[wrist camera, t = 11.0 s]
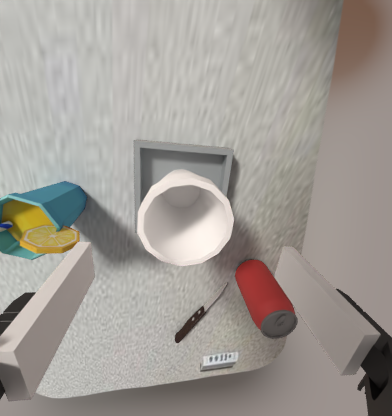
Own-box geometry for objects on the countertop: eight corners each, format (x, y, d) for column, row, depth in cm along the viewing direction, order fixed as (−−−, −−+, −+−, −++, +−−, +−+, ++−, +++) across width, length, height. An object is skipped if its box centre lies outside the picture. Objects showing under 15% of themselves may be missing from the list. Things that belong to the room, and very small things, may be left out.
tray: (137, 139, 29) (133, 140, 26) (228, 147, 31) (233, 149, 28) (138, 224, 34) (135, 232, 31) (216, 227, 35) (220, 235, 33)
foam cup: (205, 218, 34) (223, 267, 22) (149, 214, 32) (136, 264, 20) (214, 162, 30) (242, 183, 18) (153, 154, 29) (139, 172, 17)
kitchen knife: (178, 335, 45) (178, 344, 43) (174, 333, 45) (174, 342, 43) (228, 280, 40) (230, 287, 39) (224, 278, 40) (227, 285, 38)
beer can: (270, 260, 39) (309, 311, 28) (258, 286, 42) (289, 343, 31) (240, 255, 38) (268, 306, 27) (229, 282, 40) (251, 339, 29)
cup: (22, 223, 31) (-98, 297, 17) (4, 174, 29) (-155, 216, 15) (113, 218, 33) (70, 284, 19) (105, 172, 30) (47, 208, 16)
